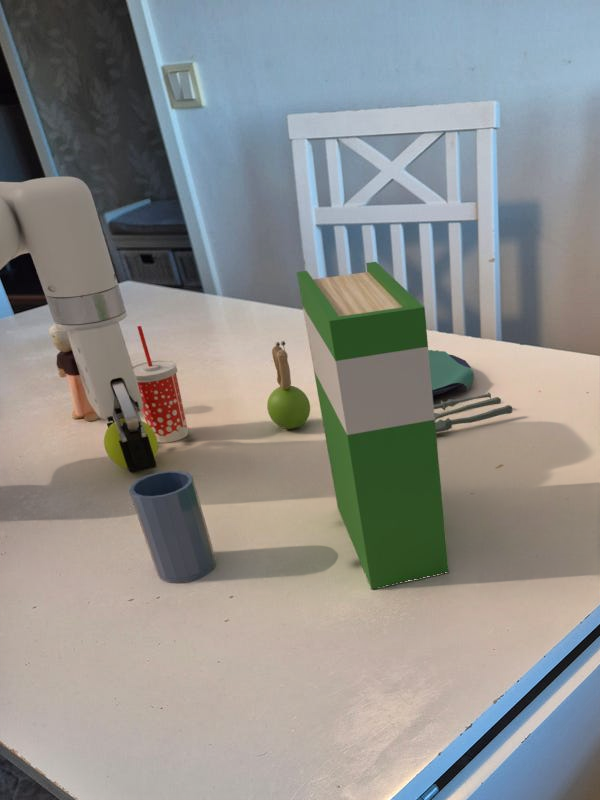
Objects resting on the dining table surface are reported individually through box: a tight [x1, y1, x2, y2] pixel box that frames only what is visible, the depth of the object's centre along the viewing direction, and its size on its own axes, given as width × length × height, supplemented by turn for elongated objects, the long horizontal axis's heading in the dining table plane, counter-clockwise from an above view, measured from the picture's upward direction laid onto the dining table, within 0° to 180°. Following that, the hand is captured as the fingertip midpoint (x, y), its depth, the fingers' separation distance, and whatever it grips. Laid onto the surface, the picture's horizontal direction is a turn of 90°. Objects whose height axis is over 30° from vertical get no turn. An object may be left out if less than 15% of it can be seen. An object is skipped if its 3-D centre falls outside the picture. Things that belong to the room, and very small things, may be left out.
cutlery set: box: [428, 349, 513, 434], centre depth 116 cm, size 20×30×2 cm, turn 25°
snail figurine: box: [266, 340, 311, 430], centre depth 106 cm, size 5×6×12 cm
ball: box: [103, 418, 159, 469], centre depth 101 cm, size 6×6×6 cm
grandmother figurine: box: [48, 324, 101, 422], centre depth 114 cm, size 8×4×13 cm, turn 72°
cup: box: [128, 470, 217, 584], centre depth 79 cm, size 6×6×9 cm
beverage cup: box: [132, 325, 189, 444], centre depth 106 cm, size 6×6×14 cm
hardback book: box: [296, 261, 450, 590], centre depth 78 cm, size 18×7×24 cm, turn 18°
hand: (136, 459), depth 102 cm, fingers closed on ball, 5 cm apart
